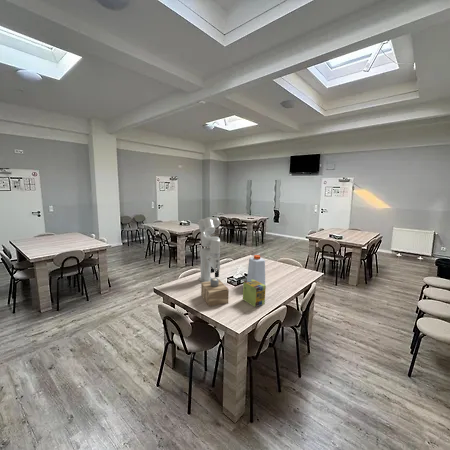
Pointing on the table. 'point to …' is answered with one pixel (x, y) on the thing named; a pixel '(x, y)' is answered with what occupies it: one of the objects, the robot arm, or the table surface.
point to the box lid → (214, 289)
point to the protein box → (254, 292)
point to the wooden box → (214, 297)
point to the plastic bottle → (256, 269)
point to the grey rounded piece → (214, 282)
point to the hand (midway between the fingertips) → (214, 274)
